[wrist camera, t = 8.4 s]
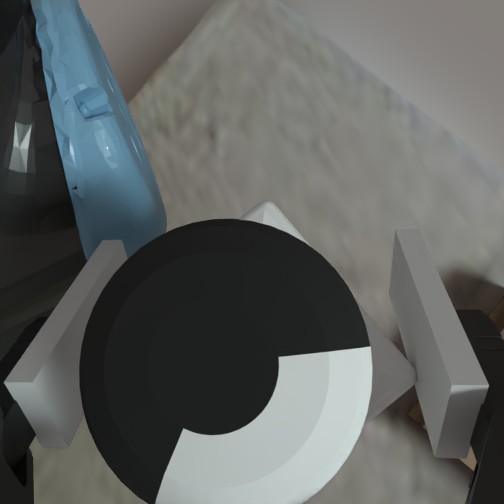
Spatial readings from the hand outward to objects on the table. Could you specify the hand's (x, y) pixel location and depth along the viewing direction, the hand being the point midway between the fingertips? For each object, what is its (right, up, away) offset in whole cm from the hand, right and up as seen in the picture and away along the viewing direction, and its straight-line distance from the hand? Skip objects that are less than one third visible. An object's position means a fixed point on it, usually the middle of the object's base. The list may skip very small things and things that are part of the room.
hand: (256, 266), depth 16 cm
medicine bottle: (+1, -4, +4) cm, 6 cm away
